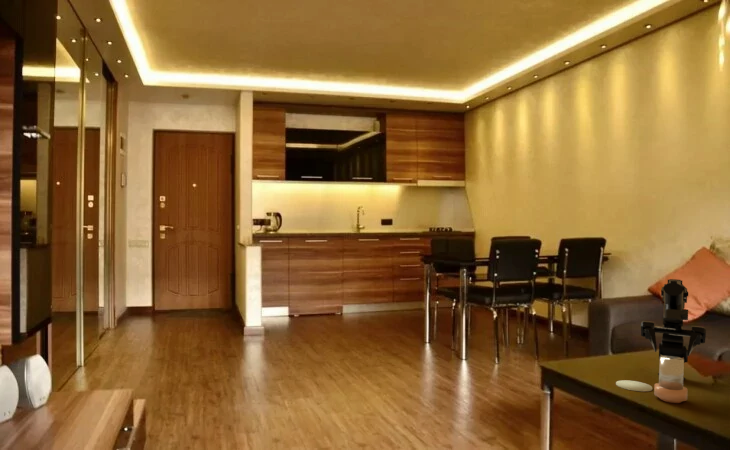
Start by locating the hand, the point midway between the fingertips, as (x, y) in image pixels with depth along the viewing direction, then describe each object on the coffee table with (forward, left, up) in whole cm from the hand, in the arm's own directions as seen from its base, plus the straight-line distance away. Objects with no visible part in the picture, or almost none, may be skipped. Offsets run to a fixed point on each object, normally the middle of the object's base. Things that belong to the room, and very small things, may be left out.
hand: (671, 353), depth 178 cm
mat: (+7, -8, -13) cm, 17 cm away
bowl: (+4, +6, -13) cm, 15 cm away
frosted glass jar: (+4, +6, -9) cm, 12 cm away
